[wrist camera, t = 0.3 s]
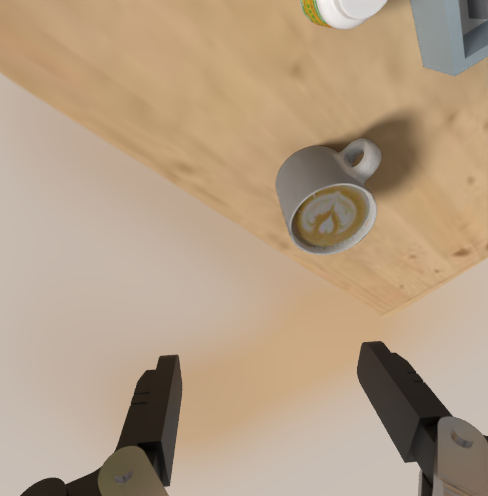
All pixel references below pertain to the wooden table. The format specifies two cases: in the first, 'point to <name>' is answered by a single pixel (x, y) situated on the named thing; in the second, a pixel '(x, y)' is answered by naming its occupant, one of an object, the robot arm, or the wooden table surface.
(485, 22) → the walled box
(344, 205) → the coffee mug
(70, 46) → the wooden table surface
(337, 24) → the supplement bottle
